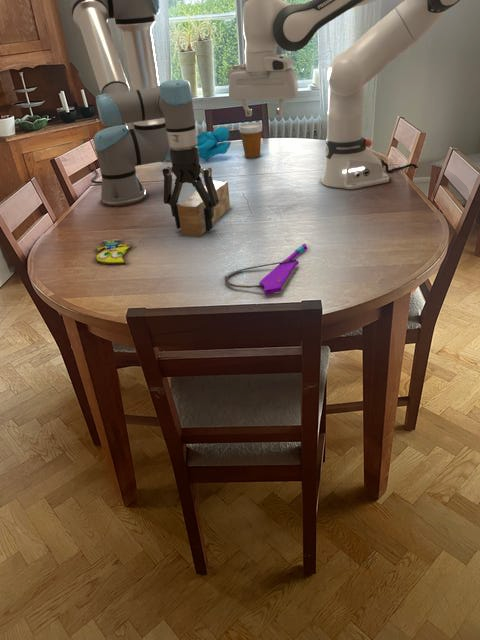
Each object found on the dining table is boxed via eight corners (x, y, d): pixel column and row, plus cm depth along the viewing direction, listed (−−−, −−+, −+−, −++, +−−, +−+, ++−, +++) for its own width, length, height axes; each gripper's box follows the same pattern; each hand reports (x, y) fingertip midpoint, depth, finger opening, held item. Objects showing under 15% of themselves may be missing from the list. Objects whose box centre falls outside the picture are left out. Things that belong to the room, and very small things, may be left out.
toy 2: (168, 140, 212) (230, 120, 202) (177, 163, 217) (238, 145, 207) (155, 150, 198) (221, 129, 188) (165, 175, 203) (230, 156, 193)
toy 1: (135, 237, 135) (125, 260, 122) (135, 240, 135) (125, 263, 123) (99, 239, 135) (85, 263, 122) (100, 242, 135) (86, 266, 123)
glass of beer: (264, 157, 198) (262, 127, 191) (241, 159, 198) (238, 129, 192) (263, 152, 206) (261, 122, 199) (241, 153, 206) (239, 124, 200)
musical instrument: (224, 303, 104) (316, 286, 101) (222, 294, 103) (315, 277, 100) (230, 261, 125) (306, 246, 122) (228, 253, 124) (305, 239, 121)
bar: (213, 207, 153) (210, 180, 149) (230, 208, 151) (227, 181, 147) (181, 235, 136) (177, 205, 131) (199, 236, 134) (195, 207, 129)
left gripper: (140, 149, 125) (155, 230, 138) (215, 151, 118) (224, 236, 130) (154, 142, 131) (167, 221, 143) (226, 143, 124) (234, 225, 136)
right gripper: (222, 66, 135) (227, 118, 143) (292, 62, 128) (293, 117, 136) (231, 63, 140) (235, 114, 148) (299, 60, 133) (299, 113, 141)
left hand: (194, 228), depth 137 cm, fingers open, 9 cm apart
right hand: (263, 115), depth 142 cm, fingers open, 8 cm apart
